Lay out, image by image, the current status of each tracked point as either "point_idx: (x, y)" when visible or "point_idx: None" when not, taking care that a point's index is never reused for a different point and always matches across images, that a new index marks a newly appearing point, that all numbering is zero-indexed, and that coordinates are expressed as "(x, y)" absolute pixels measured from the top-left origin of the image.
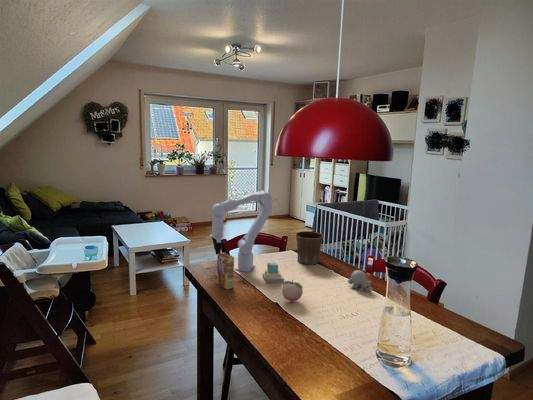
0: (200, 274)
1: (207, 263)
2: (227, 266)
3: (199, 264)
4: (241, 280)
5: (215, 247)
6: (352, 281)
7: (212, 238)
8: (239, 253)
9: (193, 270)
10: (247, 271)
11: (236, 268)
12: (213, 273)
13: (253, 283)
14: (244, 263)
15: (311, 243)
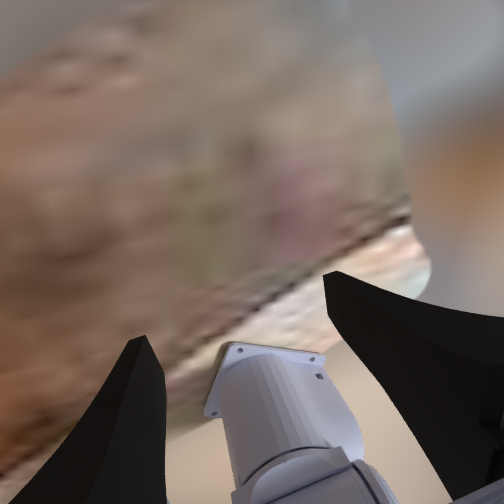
0: (97, 106)
1: (353, 128)
2: None
3: (337, 54)
4: (58, 412)
5: (62, 454)
6: None
7: (469, 370)
8: (258, 476)
9: (187, 10)
10: (203, 409)
11: (242, 349)
12: (144, 218)
13: (32, 472)
14: (225, 433)
15: None
